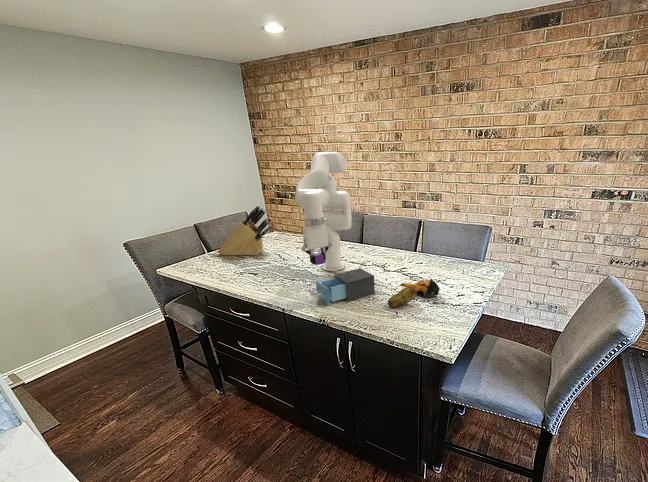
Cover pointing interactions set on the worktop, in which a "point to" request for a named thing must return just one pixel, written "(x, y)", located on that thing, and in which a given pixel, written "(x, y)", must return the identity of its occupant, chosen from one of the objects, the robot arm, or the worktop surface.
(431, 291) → the fried shrimp in bowl
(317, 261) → the purple cube
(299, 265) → the worktop surface
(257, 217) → the knife block
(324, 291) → the blue drawer
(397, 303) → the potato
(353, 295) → the grey drawer box
